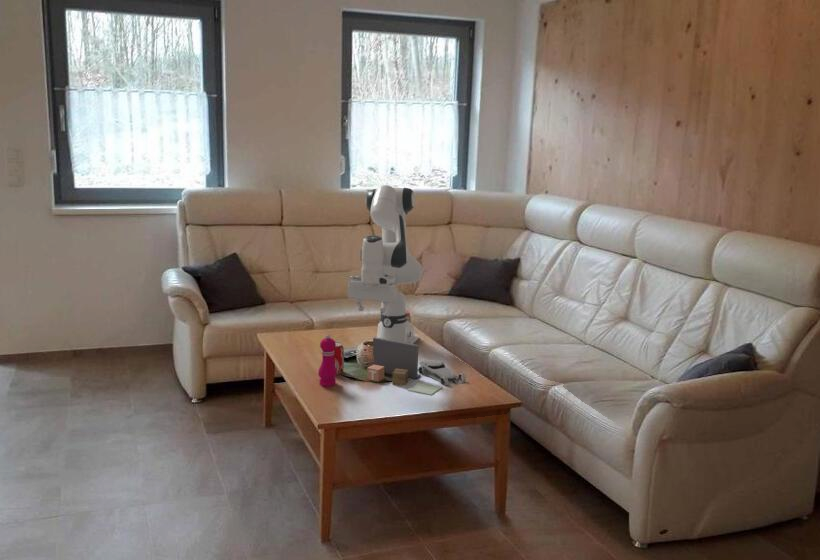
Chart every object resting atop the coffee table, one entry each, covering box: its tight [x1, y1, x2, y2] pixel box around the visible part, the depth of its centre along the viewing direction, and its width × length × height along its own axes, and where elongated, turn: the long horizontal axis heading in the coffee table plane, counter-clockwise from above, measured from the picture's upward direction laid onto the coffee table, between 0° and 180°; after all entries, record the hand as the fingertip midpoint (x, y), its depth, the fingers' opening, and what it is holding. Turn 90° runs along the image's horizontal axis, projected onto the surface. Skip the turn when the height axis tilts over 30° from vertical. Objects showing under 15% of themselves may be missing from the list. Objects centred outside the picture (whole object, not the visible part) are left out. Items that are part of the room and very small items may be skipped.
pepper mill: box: [317, 334, 338, 387], centre depth 298 cm, size 7×7×20 cm
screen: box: [372, 336, 422, 381], centre depth 313 cm, size 4×20×14 cm, turn 63°
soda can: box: [333, 341, 345, 375], centre depth 313 cm, size 7×7×12 cm
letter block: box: [366, 364, 385, 383], centre depth 307 cm, size 5×5×5 cm
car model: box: [418, 359, 467, 387], centre depth 313 cm, size 11×24×5 cm, turn 33°
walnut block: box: [391, 369, 409, 387], centre depth 303 cm, size 5×5×5 cm
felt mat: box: [407, 381, 443, 396], centre depth 298 cm, size 10×10×1 cm
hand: (371, 311), depth 306 cm, fingers open, 8 cm apart
